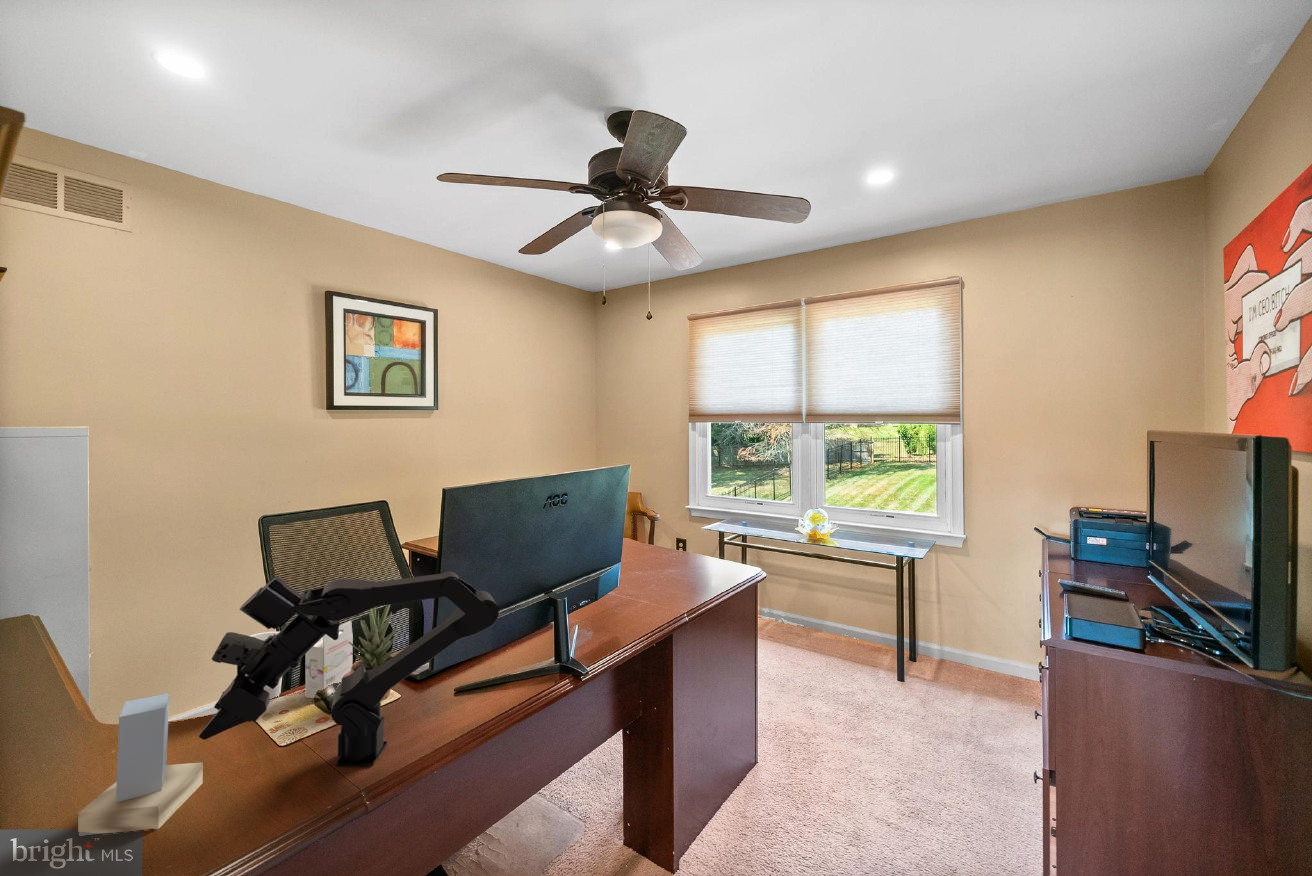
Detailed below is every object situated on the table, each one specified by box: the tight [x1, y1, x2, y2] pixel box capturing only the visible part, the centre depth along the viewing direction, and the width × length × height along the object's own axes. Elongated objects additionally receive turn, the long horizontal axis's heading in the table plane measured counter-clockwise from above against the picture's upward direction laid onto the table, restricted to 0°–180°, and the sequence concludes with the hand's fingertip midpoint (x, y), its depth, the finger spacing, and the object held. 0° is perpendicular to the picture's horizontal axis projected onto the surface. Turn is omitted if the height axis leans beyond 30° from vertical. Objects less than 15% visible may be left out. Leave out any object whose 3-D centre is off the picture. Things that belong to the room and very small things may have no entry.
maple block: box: [77, 761, 204, 833], centre depth 82 cm, size 10×10×4 cm
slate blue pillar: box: [116, 692, 170, 803], centre depth 81 cm, size 5×5×13 cm
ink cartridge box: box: [304, 620, 354, 699], centre depth 118 cm, size 9×5×15 cm, turn 168°
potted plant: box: [349, 605, 399, 701], centre depth 116 cm, size 10×10×25 cm
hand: (209, 722), depth 85 cm, fingers open, 9 cm apart
